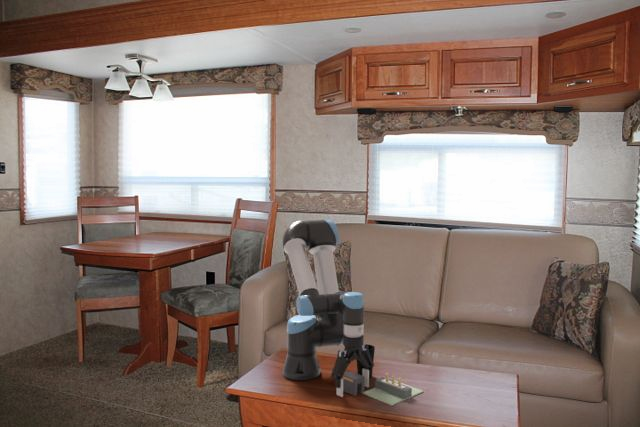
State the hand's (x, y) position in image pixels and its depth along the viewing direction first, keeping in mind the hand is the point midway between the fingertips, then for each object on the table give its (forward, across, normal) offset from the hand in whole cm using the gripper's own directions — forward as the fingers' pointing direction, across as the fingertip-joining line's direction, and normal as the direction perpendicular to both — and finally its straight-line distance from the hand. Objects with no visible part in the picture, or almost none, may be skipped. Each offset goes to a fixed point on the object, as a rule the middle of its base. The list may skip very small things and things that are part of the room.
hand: (352, 391), depth 201 cm
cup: (0, +14, +7) cm, 16 cm away
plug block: (0, 0, 0) cm, 0 cm away
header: (0, +10, -11) cm, 15 cm away
